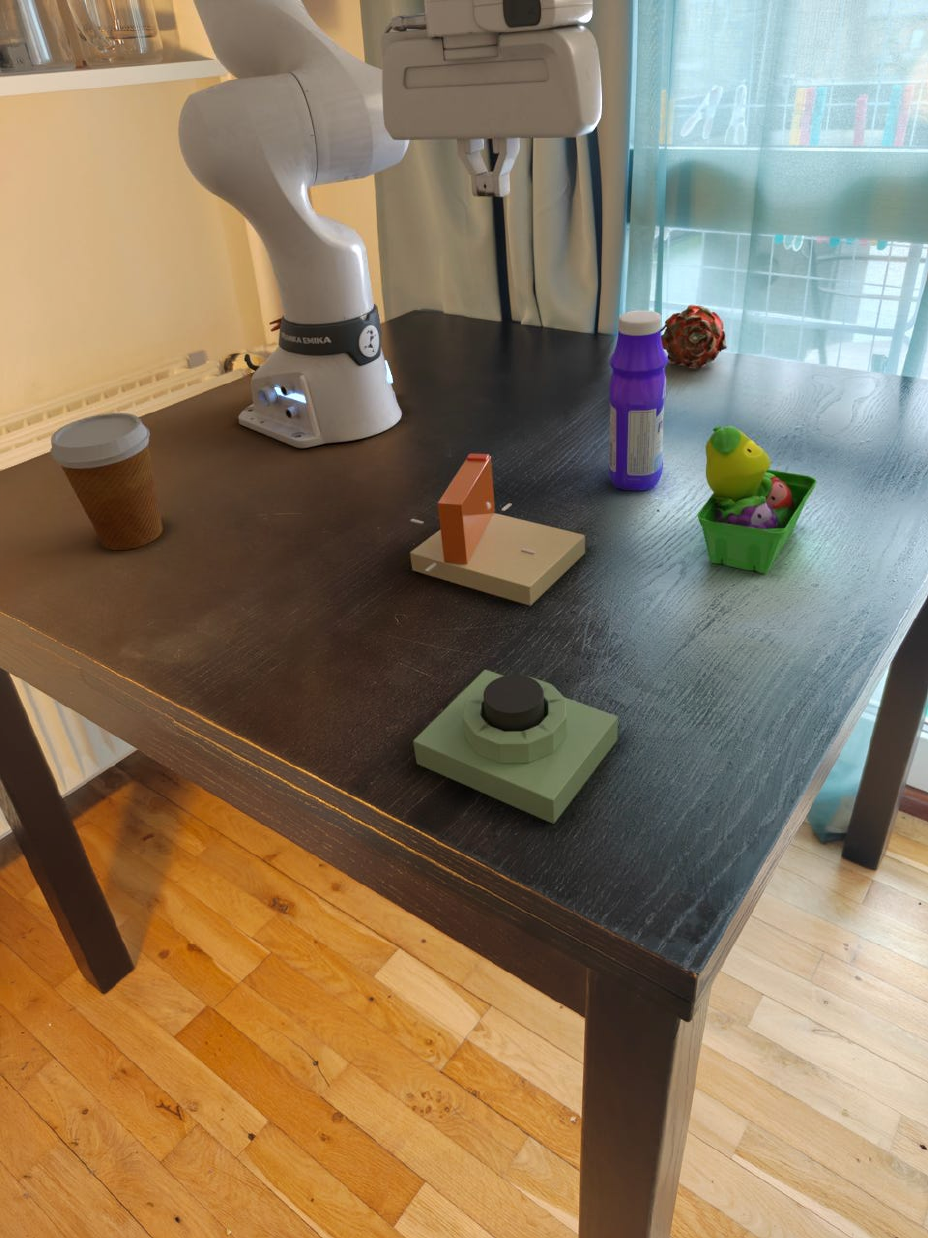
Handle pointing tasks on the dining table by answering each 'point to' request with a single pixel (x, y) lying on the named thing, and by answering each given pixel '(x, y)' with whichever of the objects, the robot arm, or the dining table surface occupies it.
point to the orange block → (466, 508)
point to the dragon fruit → (693, 337)
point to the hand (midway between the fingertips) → (491, 195)
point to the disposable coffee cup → (111, 476)
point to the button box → (519, 750)
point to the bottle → (637, 402)
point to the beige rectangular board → (506, 558)
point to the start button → (514, 703)
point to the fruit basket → (748, 502)
